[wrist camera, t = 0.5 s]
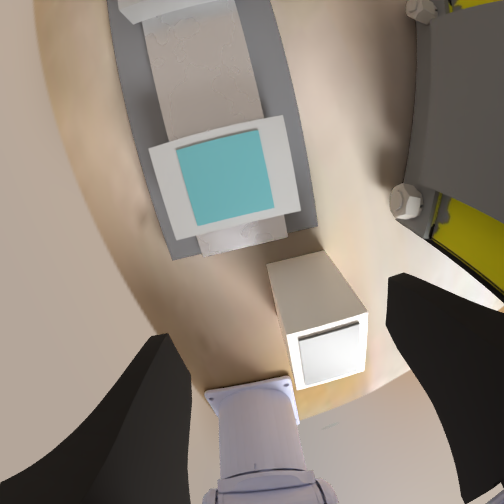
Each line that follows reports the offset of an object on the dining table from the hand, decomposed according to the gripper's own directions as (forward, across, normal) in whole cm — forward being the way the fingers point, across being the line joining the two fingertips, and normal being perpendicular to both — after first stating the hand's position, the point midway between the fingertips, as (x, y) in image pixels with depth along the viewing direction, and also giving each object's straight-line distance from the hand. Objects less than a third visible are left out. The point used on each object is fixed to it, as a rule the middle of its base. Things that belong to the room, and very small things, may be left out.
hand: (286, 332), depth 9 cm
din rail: (+10, +1, -10) cm, 14 cm away
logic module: (+10, -2, +5) cm, 11 cm away
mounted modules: (+8, +1, -10) cm, 13 cm away
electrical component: (+10, -16, -5) cm, 19 cm away
